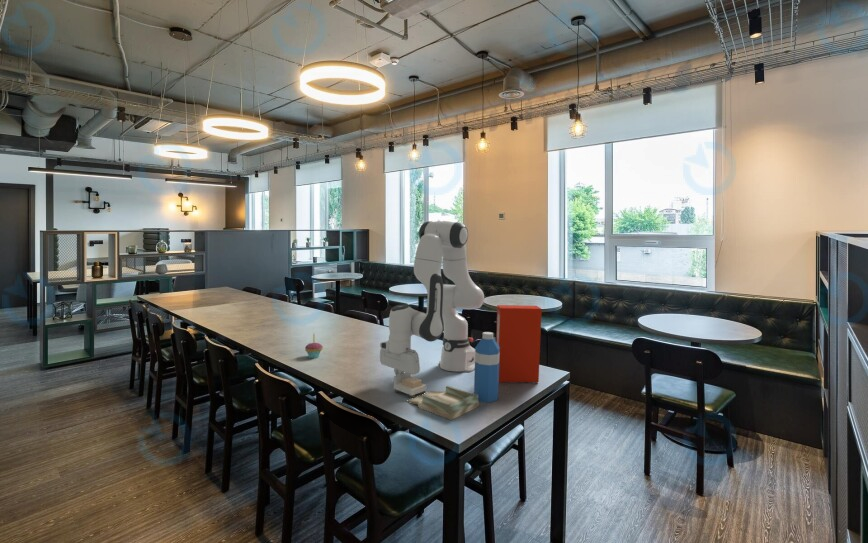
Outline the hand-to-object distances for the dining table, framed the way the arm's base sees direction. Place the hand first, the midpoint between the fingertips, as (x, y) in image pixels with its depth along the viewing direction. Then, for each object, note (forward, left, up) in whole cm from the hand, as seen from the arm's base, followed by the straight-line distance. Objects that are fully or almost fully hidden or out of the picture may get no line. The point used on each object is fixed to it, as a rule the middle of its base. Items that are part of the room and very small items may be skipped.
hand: (399, 380), depth 165 cm
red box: (-43, +28, -4) cm, 52 cm away
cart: (0, +6, -4) cm, 7 cm away
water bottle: (-17, +30, -4) cm, 35 cm away
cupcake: (-1, -63, -4) cm, 63 cm away
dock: (0, +22, -5) cm, 22 cm away
